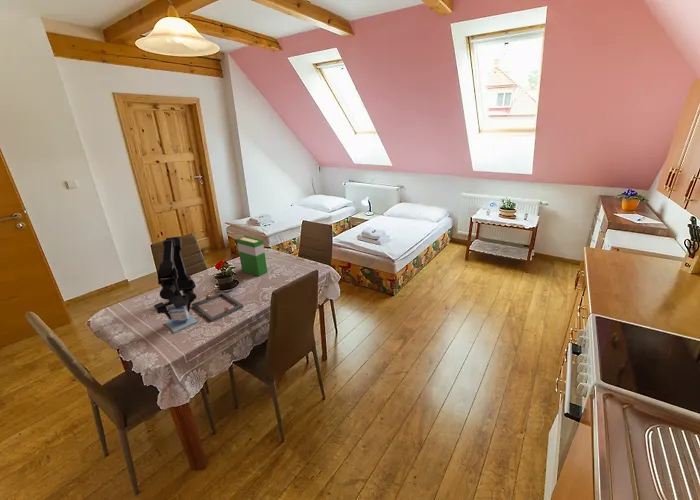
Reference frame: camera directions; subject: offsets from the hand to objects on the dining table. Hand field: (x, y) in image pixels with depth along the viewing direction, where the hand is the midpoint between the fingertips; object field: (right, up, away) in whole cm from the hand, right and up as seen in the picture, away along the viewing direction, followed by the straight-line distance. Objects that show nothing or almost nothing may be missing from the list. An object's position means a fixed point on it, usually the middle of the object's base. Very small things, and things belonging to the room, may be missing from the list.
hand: (179, 315), depth 165 cm
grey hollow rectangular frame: (+14, +2, +15) cm, 20 cm away
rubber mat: (0, -4, +2) cm, 4 cm away
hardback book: (+22, +19, +57) cm, 64 cm away
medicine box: (0, -3, +1) cm, 3 cm away
